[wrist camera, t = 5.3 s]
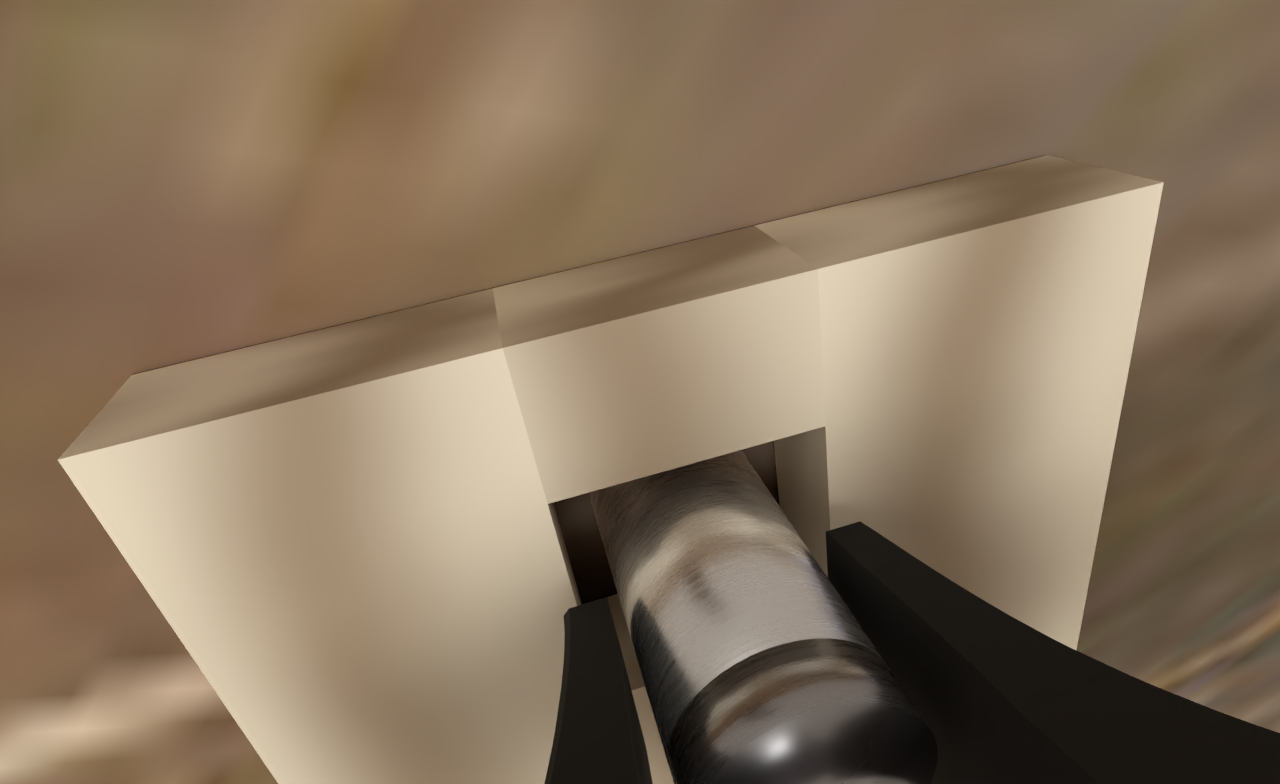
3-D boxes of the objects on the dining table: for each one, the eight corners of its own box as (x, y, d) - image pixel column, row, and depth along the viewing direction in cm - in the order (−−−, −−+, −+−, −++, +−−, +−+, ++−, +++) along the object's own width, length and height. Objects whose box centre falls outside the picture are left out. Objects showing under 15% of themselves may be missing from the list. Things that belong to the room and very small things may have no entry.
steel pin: (737, 395, 14) (950, 674, 8) (743, 522, 16) (925, 837, 10) (577, 428, 14) (680, 751, 8) (599, 557, 15) (699, 910, 9)
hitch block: (1047, 155, 13) (1163, 182, 11) (992, 669, 20) (1057, 748, 18) (131, 375, 11) (57, 459, 9) (414, 863, 18) (410, 978, 16)
